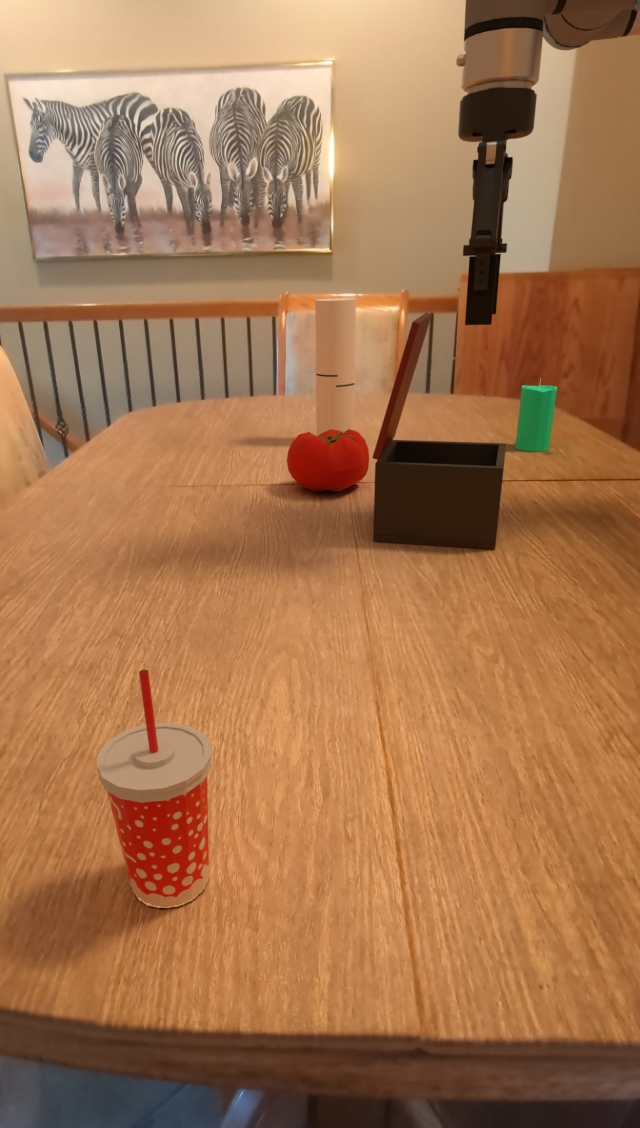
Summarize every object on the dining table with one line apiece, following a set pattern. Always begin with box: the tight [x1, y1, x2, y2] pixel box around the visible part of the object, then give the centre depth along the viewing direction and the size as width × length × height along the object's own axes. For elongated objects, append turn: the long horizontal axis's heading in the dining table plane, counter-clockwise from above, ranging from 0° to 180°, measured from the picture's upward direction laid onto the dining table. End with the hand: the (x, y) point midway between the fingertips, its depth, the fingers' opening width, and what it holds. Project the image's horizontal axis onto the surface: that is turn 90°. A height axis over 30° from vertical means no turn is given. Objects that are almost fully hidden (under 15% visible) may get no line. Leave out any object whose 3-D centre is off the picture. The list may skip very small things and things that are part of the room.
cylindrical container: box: [314, 297, 357, 436], centre depth 139 cm, size 7×7×25 cm
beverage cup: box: [95, 669, 212, 907], centre depth 41 cm, size 6×6×14 cm
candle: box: [514, 377, 558, 453], centre depth 133 cm, size 6×6×12 cm
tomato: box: [286, 429, 370, 493], centre depth 114 cm, size 13×12×8 cm
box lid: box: [372, 312, 433, 461], centre depth 91 cm, size 16×13×1 cm
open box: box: [372, 439, 507, 551], centre depth 96 cm, size 15×13×10 cm
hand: (481, 319), depth 86 cm, fingers open, 13 cm apart
